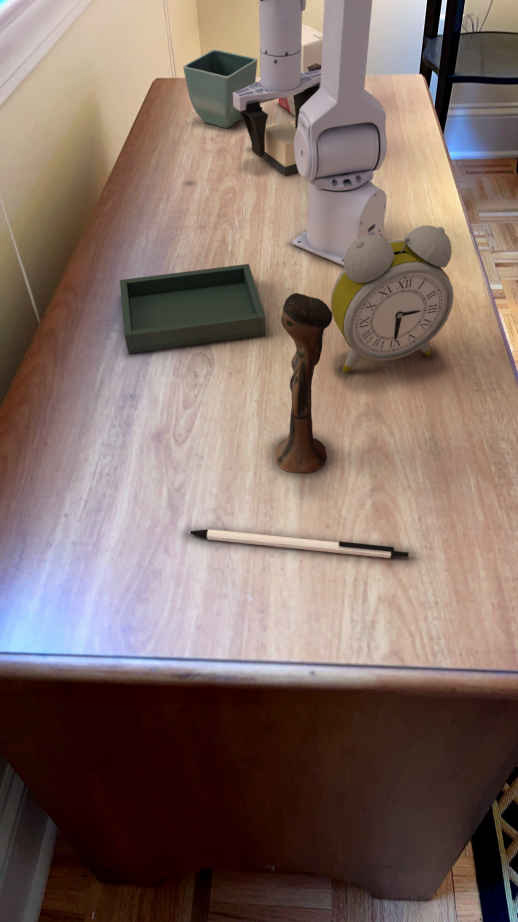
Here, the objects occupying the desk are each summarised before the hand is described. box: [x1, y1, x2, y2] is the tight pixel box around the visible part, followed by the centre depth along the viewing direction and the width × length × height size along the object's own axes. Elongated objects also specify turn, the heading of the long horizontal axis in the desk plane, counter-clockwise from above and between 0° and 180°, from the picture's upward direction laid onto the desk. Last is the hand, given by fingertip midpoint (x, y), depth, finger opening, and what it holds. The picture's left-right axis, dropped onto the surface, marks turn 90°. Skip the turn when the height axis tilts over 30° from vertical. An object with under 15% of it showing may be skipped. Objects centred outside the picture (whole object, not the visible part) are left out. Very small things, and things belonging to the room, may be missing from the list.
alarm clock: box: [330, 224, 454, 373], centre depth 70 cm, size 12×7×15 cm, turn 105°
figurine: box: [275, 292, 333, 474], centre depth 60 cm, size 7×5×18 cm
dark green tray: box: [119, 263, 266, 355], centre depth 80 cm, size 16×11×3 cm
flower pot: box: [182, 49, 258, 129], centre depth 112 cm, size 9×9×9 cm
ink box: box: [277, 23, 323, 117], centre depth 113 cm, size 8×5×12 cm, turn 28°
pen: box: [187, 528, 409, 559], centre depth 59 cm, size 1×19×1 cm, turn 82°
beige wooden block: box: [251, 121, 299, 177], centre depth 104 cm, size 10×4×5 cm, turn 30°
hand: (280, 147), depth 105 cm, fingers open, 7 cm apart
